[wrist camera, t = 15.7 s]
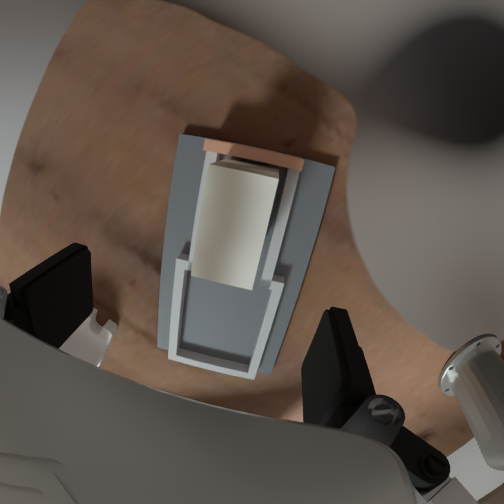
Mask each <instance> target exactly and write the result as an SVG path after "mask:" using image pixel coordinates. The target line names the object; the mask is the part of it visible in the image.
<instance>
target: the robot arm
mask: <svg viewBox="0 0 504 504" xmlns="http://www.w3.org/2000/svg"><path fill="white" fill-rule="evenodd" d="M9 285H10V290H11V293H9V294H8V293H7V290H6V289H5V288H4V287H1V286H0V504H504V483H503V484H502V485H500V486H499V487H497V488H496V489H494V490H493V491H492V492H490V493H489V494H487V495H485V496H484V497H482V498H481V499H479V500H478V501H476V500H475V499H474V498H473V497H472V495H471V494H470V493H469V492H468V491H467V490H466V489H465V488H464V487H463V485H462V484H461V483H460V482H459V481H458V480H457V478H456V477H454V478H452V479H451V478H450V477H449V473H450V464H449V461H448V460H447V458H446V457H445V455H444V454H442V453H441V452H440V451H438V450H437V449H435V448H434V447H433V446H431V445H430V444H428V443H427V442H425V441H424V440H422V439H421V438H419V437H418V436H417V435H415V434H414V433H412V432H411V431H409V430H408V429H407V428H405V427H404V426H402V425H403V424H404V421H405V412H404V410H403V408H402V407H401V405H400V404H399V403H398V402H397V401H395V400H394V399H393V398H391V397H389V396H385V395H376V393H375V389H374V386H373V382H372V379H371V376H370V373H369V369H368V366H367V363H366V360H365V357H364V354H363V350H362V348H361V347H360V346H359V345H358V342H357V339H356V336H355V333H354V330H353V327H352V324H351V321H350V318H349V315H348V312H347V310H346V309H341V308H336V307H331V308H330V310H327V309H326V310H325V311H324V313H323V315H322V318H321V320H320V323H319V326H318V328H317V330H316V333H315V335H314V338H313V340H312V343H311V345H310V347H309V350H308V352H307V354H306V357H305V359H304V361H303V364H302V369H301V375H302V396H303V422H304V423H302V422H297V421H291V420H285V419H279V418H273V417H267V416H261V415H256V414H252V413H247V412H242V411H237V410H233V409H228V408H224V407H220V406H216V405H211V404H208V403H204V402H200V401H196V400H193V399H189V398H185V397H182V396H179V395H175V394H172V393H169V392H166V391H162V390H159V389H156V388H153V387H150V386H147V385H144V384H141V383H139V382H136V381H133V380H130V379H128V378H125V377H122V376H120V375H117V374H115V373H112V372H109V371H107V370H105V369H102V368H100V367H97V366H95V365H93V364H90V363H88V362H86V361H83V360H81V359H79V358H77V357H75V356H72V355H70V354H68V353H66V352H64V351H62V350H60V349H59V348H60V347H61V346H62V345H63V344H64V342H65V341H66V340H67V339H68V338H69V337H70V336H71V335H72V334H73V333H74V332H75V331H76V329H77V328H78V327H79V326H80V325H81V324H82V323H83V322H84V321H85V320H86V319H87V318H88V317H89V316H90V315H91V313H92V311H93V293H92V276H91V253H90V251H89V250H88V247H87V246H85V245H82V244H79V243H72V244H71V245H69V246H67V247H66V248H64V249H62V250H61V251H59V252H58V253H56V254H54V255H53V256H51V257H49V258H48V259H46V260H45V261H43V262H42V263H40V264H38V265H37V266H35V267H34V268H32V269H31V270H29V271H28V272H26V273H25V274H23V275H22V276H20V277H19V278H17V279H16V280H14V281H13V282H11V283H10V284H9ZM501 349H502V346H501V342H500V341H499V339H498V338H497V337H496V336H495V335H493V334H483V335H480V336H478V337H476V338H474V339H472V340H470V341H469V342H467V343H466V344H465V345H463V346H462V347H461V348H460V349H458V350H457V351H456V352H455V353H454V354H453V356H452V357H451V358H450V359H449V360H448V362H447V363H446V365H445V366H444V368H443V370H442V372H441V375H440V378H439V386H440V388H441V390H442V392H443V393H444V394H446V395H449V396H455V397H456V399H457V401H458V403H459V405H460V407H461V409H462V411H463V413H464V415H465V417H466V419H467V421H468V423H469V426H470V428H471V430H472V432H473V434H474V437H475V439H476V441H477V443H478V446H479V448H480V450H481V453H482V455H483V457H484V460H485V461H486V463H487V464H488V465H489V466H490V467H492V468H494V469H497V470H501V471H504V361H503V360H502V358H501V357H500V355H501Z"/></svg>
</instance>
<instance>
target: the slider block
mask: <svg viewBox="0 0 504 504" xmlns="http://www.w3.org/2000/svg"><path fill="white" fill-rule="evenodd" d="M278 181H279V169H278V167H274V166H270V165H266V164H261V163H257V162H252V161H247V160H243V159H238V158H233V157H230V158H226V159H223V160H220V161H217V162H214V163H211V164H209V167H208V172H207V177H206V183H205V189H204V194H203V200H202V206H201V212H200V218H199V224H198V230H197V237H196V243H195V250H194V257H193V264H192V271H191V276H194V277H198V278H202V279H206V280H210V281H214V282H218V283H223V284H227V285H231V286H235V287H240V288H244V289H248V290H252V288H253V284H254V280H255V276H256V272H257V268H258V264H259V260H260V256H261V252H262V247H263V243H264V239H265V235H266V231H267V227H268V223H269V219H270V214H271V210H272V206H273V202H274V198H275V194H276V189H277V185H278Z"/></svg>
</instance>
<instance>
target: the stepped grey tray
mask: <svg viewBox="0 0 504 504" xmlns="http://www.w3.org/2000/svg"><path fill="white" fill-rule="evenodd" d="M230 157H233V158H238V159H243V160H247V161H252V162H257V163H261V164H266V165H270V166H274V167H278V169H279V181H278V185H277V189H276V194H275V198H274V202H273V206H272V210H271V214H270V219H269V223H268V227H267V231H266V235H265V239H264V243H263V247H262V252H261V256H260V260H259V264H258V268H257V272H256V276H255V280H254V284H253V288H252V290H248V289H244V288H240V287H235V286H231V285H227V284H223V283H218V282H214V281H210V280H206V279H202V278H198V277H194V276H191V271H192V264H193V257H194V250H195V243H196V237H197V230H198V224H199V218H200V212H201V206H202V200H203V194H204V189H205V183H206V177H207V172H208V167H209V164H211V163H214V162H217V161H220V160H223V159H226V158H230ZM334 171H335V167H334V166H331V165H327V164H323V163H320V162H316V161H312V160H309V159H305V158H301V157H297V156H293V155H289V154H285V153H280V152H276V151H272V150H267V149H263V148H258V147H253V146H248V145H244V144H238V143H233V142H228V141H223V140H217V139H211V138H205V137H199V136H193V135H186V134H180V135H179V140H178V146H177V151H176V157H175V163H174V169H173V176H172V182H171V189H170V196H169V203H168V211H167V219H166V228H165V237H164V246H163V257H162V268H161V281H160V296H159V314H158V340H157V347H159V348H162V349H166V350H169V353H168V359H171V360H175V361H178V362H182V363H185V364H189V365H193V366H196V367H200V368H204V369H208V370H212V371H216V372H221V373H225V374H229V375H234V376H238V377H243V378H248V379H253V380H254V379H255V376H256V373H257V372H259V373H264V374H271V371H272V369H273V366H274V363H275V360H276V358H277V355H278V352H279V349H280V347H281V344H282V341H283V338H284V335H285V333H286V330H287V327H288V324H289V321H290V318H291V315H292V312H293V309H294V306H295V303H296V300H297V297H298V294H299V291H300V288H301V285H302V282H303V279H304V276H305V272H306V269H307V266H308V263H309V260H310V256H311V253H312V250H313V246H314V243H315V240H316V236H317V233H318V230H319V226H320V223H321V219H322V216H323V212H324V209H325V205H326V201H327V198H328V194H329V190H330V187H331V183H332V179H333V175H334Z"/></svg>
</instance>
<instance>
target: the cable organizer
mask: <svg viewBox="0 0 504 504" xmlns="http://www.w3.org/2000/svg"><path fill="white" fill-rule="evenodd" d="M97 312H98V310H96V309H95V308H94V307H93V311H92V313H91V315H90V316H89V317H88V318H87V319H86V320H85V321H84V322H83V323H82V324H81V325H80V326H79V327H78V328H77V329H76V331H75V332H74V333H73V334H72V335H71V336H70V337H69V338H68V339H67V340H66V341H65V342H64V344H63V345H62V346H61V347H60V348H59V349H60V350H62V351H64V352H66V353H68V354H70V355H72V356H75V357H77V358H79V359H81V360H83V361H86V362H88V363H90V364H93V365H95V366H97V367H99V366H100V365H101V363H102V362H103V360H104V358H105V355H106V353H107V351H108V349H109V346H110V344H111V342H112V340H113V338H114V336H115V333H116V331H117V329H118V326H117V324H116V323H114V322H113V321H112V320H110V319H109V320H108V321H107V322H106V324H105V325H104V326H101V325H99V324H98V323H97V321H96V315H97Z"/></svg>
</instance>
